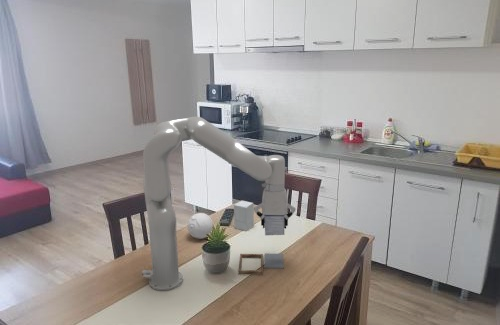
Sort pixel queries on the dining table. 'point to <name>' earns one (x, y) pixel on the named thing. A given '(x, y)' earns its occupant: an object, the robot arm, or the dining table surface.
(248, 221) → the supplement box
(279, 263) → the rubber mat
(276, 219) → the medicine box
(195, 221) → the decorative ball
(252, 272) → the wooden frame
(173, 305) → the dining table surface
